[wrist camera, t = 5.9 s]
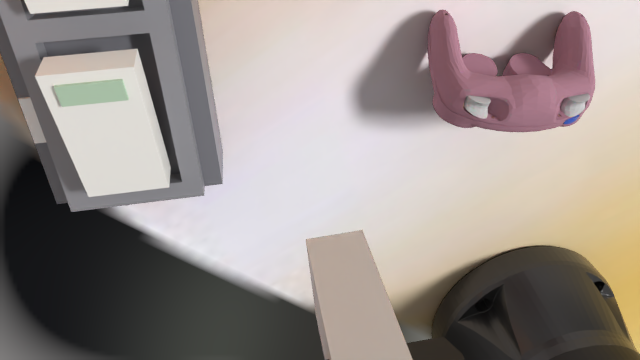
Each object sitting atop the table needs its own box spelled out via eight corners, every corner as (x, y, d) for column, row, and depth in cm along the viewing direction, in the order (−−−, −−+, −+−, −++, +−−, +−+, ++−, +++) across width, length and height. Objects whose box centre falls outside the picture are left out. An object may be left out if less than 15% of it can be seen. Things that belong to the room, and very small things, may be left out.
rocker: (170, 167, 28) (169, 189, 27) (93, 176, 27) (88, 199, 26) (137, 48, 23) (133, 68, 22) (43, 57, 23) (34, 78, 21)
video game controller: (409, 60, 33) (434, 148, 30) (429, 1, 30) (461, 93, 26) (550, 59, 35) (591, 143, 31) (586, 3, 31) (638, 91, 27)
